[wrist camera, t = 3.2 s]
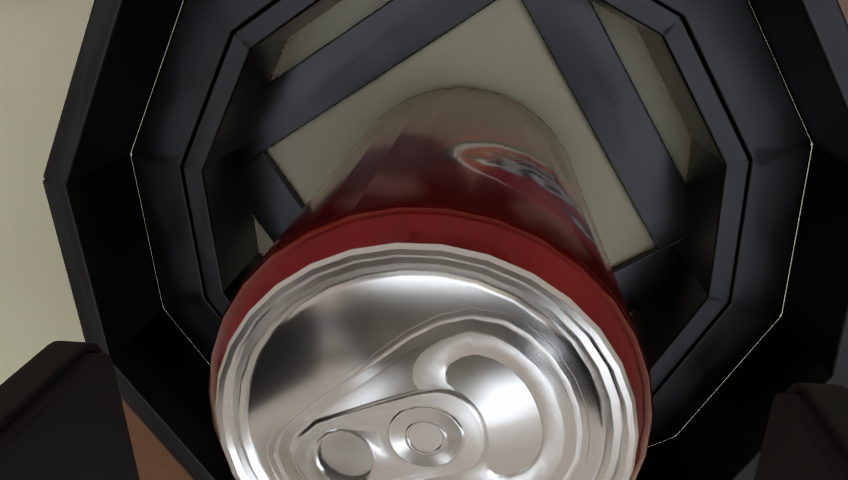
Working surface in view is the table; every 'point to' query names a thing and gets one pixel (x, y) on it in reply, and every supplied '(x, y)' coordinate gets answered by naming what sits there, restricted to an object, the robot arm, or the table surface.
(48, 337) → the table surface
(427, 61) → the table surface
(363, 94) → the table surface
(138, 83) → the wok
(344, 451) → the soda can
